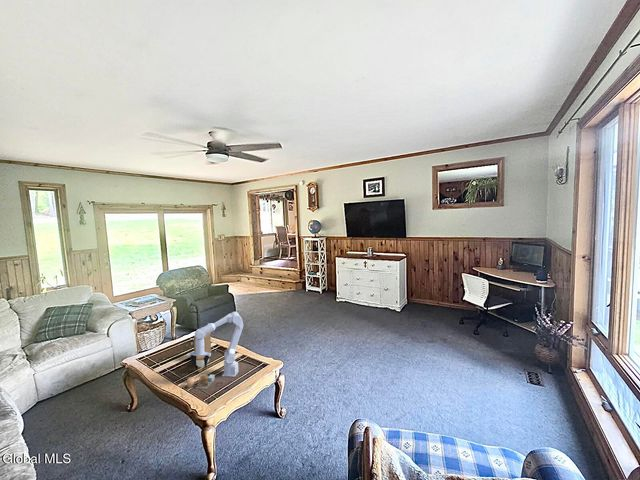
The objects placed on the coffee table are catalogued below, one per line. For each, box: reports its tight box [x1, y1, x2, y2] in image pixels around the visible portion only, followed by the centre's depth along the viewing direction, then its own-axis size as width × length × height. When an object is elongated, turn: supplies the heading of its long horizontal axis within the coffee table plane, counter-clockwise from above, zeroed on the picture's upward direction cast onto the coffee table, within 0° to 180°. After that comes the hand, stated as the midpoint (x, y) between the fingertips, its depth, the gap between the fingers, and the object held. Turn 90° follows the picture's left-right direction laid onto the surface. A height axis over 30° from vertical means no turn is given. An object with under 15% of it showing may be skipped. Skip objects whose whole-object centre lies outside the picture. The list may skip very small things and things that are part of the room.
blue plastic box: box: [208, 374, 216, 383], centre depth 194 cm, size 3×4×3 cm
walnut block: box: [198, 374, 209, 387], centre depth 188 cm, size 5×5×5 cm
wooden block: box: [193, 332, 212, 354], centre depth 225 cm, size 10×10×20 cm
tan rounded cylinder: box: [186, 376, 196, 389], centre depth 187 cm, size 4×4×5 cm
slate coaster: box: [194, 381, 213, 390], centre depth 188 cm, size 8×8×1 cm
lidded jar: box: [196, 356, 210, 368], centre depth 215 cm, size 11×11×9 cm
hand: (200, 366), depth 194 cm, fingers open, 7 cm apart
